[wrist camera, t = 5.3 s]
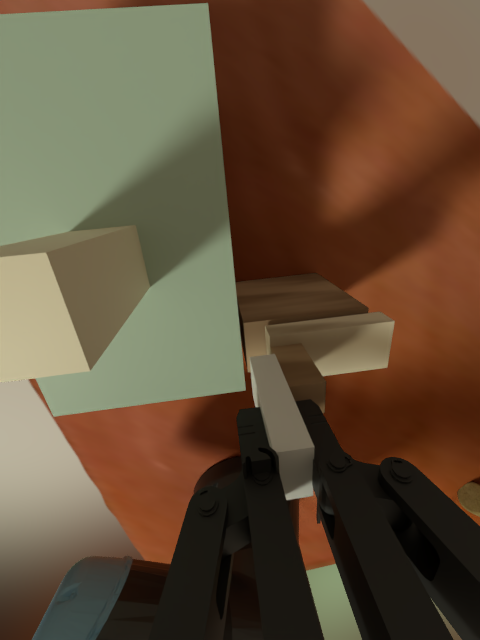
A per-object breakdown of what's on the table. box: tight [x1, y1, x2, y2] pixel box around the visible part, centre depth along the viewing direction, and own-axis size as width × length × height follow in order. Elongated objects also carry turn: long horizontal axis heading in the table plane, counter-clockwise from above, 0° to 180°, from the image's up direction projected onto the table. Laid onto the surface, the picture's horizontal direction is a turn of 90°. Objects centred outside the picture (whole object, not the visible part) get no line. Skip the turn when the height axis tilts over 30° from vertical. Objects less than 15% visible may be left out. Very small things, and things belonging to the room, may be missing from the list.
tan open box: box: [235, 273, 369, 373], centre depth 21 cm, size 20×22×10 cm
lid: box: [0, 3, 246, 416], centre depth 13 cm, size 21×14×11 cm, turn 5°
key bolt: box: [265, 312, 395, 413], centre depth 17 cm, size 4×8×6 cm, turn 95°
